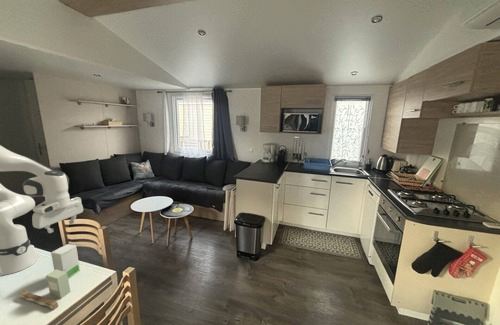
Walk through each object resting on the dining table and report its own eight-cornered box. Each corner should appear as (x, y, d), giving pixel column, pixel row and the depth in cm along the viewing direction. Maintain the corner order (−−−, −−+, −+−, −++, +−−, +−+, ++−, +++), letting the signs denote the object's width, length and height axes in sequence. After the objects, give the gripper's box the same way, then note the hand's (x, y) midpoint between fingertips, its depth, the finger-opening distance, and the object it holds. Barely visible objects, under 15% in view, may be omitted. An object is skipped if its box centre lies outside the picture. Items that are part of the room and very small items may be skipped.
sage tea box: (50, 295, 96) (45, 275, 94) (59, 288, 100) (56, 269, 97) (60, 298, 94) (56, 278, 92) (70, 291, 98) (66, 272, 96)
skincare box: (64, 281, 104) (59, 254, 101) (54, 279, 105) (49, 252, 102) (81, 270, 112) (76, 245, 109) (71, 268, 113) (67, 243, 110)
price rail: (19, 298, 94) (18, 293, 93) (24, 295, 96) (23, 290, 95) (53, 310, 88) (52, 305, 88) (58, 306, 90) (57, 302, 90)
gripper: (76, 195, 112) (79, 217, 115) (27, 209, 93) (32, 236, 95) (84, 196, 110) (87, 219, 113) (37, 212, 91) (41, 239, 94)
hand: (61, 227), depth 104 cm, fingers open, 8 cm apart
